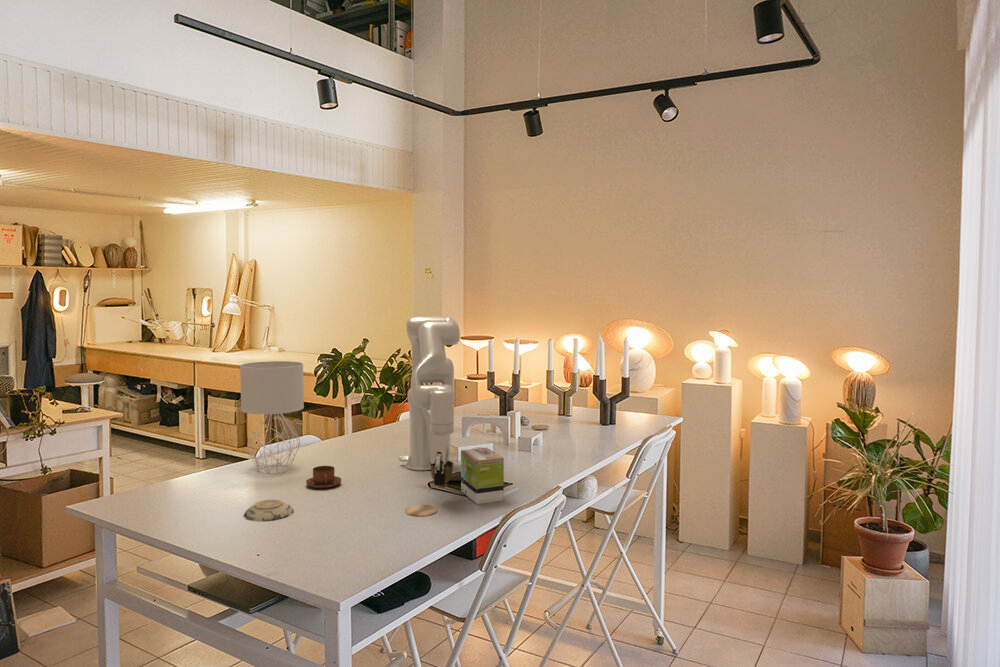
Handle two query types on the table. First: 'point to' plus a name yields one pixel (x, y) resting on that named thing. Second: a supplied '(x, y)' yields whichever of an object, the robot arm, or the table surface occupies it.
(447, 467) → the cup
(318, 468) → the cup and saucer
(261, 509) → the decorative bowl
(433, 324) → the robot arm
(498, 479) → the tea box
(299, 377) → the table lamp
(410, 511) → the cork coaster
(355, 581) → the table surface
